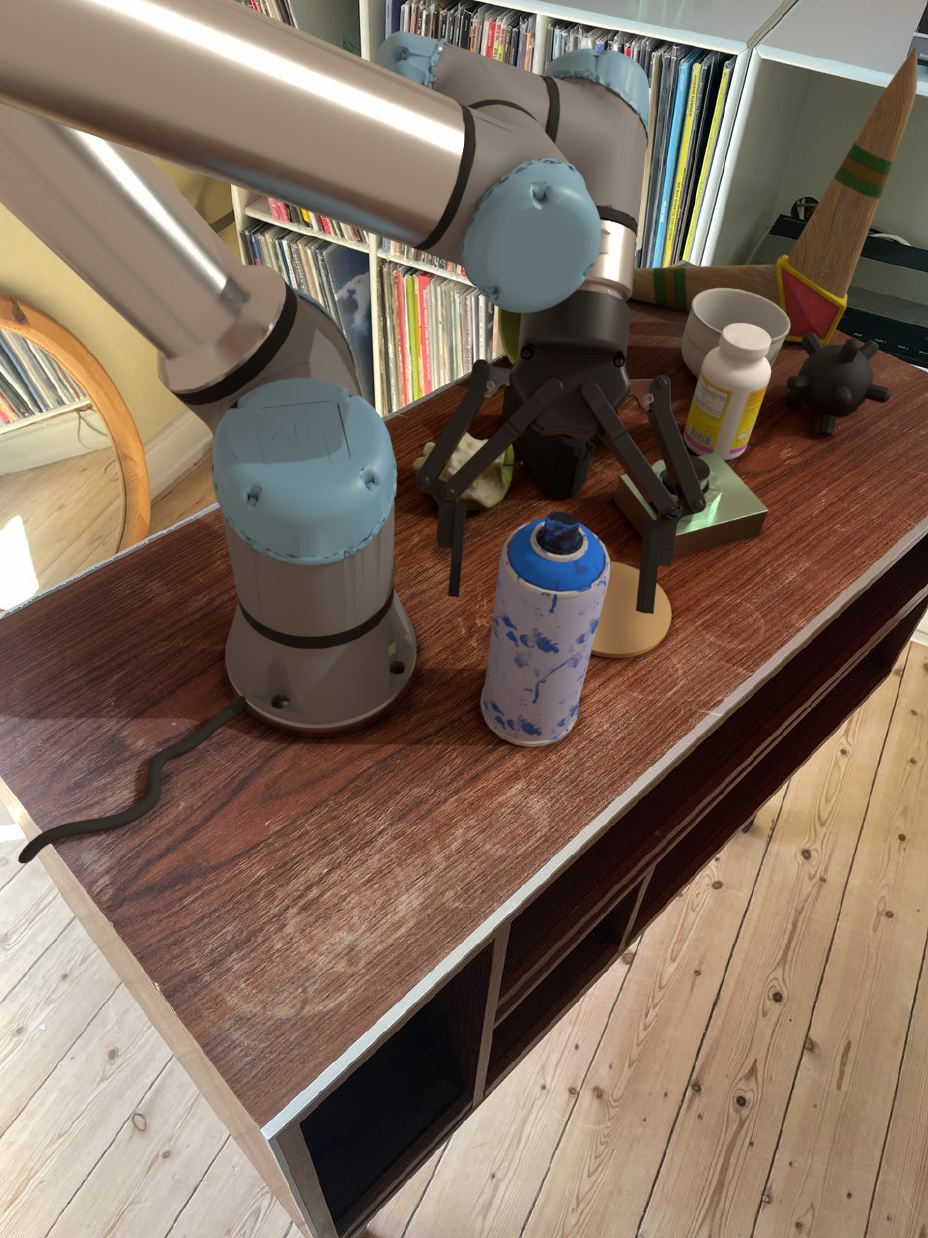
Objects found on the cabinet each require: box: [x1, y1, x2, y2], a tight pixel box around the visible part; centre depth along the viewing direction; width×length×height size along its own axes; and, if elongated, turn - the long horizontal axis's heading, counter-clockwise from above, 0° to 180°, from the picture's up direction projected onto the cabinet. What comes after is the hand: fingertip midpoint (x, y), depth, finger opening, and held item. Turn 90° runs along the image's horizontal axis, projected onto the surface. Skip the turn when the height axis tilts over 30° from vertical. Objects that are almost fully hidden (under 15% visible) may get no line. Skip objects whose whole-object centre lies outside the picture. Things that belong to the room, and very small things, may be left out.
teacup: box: [680, 288, 790, 379], centre depth 103 cm, size 14×11×8 cm
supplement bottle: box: [683, 323, 772, 461], centre depth 94 cm, size 7×7×13 cm
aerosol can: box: [479, 511, 611, 748], centre depth 67 cm, size 8×8×20 cm
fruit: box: [412, 431, 524, 512], centre depth 89 cm, size 9×9×8 cm
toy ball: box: [784, 332, 892, 438], centre depth 99 cm, size 11×11×12 cm
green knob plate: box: [613, 452, 770, 559], centre depth 89 cm, size 11×9×5 cm
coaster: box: [590, 560, 672, 659], centre depth 82 cm, size 11×11×1 cm
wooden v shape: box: [629, 46, 919, 346], centre depth 108 cm, size 22×41×6 cm
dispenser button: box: [662, 454, 710, 496], centre depth 86 cm, size 4×4×2 cm
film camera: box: [500, 361, 619, 500], centre depth 93 cm, size 15×10×9 cm, turn 22°
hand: (548, 604), depth 66 cm, fingers open, 13 cm apart
